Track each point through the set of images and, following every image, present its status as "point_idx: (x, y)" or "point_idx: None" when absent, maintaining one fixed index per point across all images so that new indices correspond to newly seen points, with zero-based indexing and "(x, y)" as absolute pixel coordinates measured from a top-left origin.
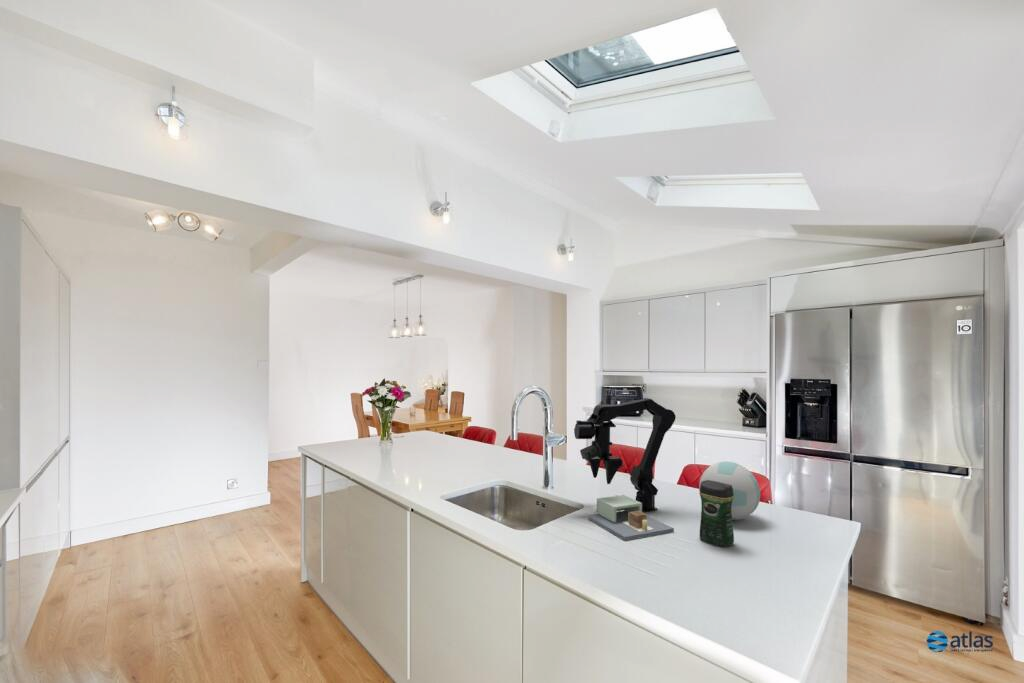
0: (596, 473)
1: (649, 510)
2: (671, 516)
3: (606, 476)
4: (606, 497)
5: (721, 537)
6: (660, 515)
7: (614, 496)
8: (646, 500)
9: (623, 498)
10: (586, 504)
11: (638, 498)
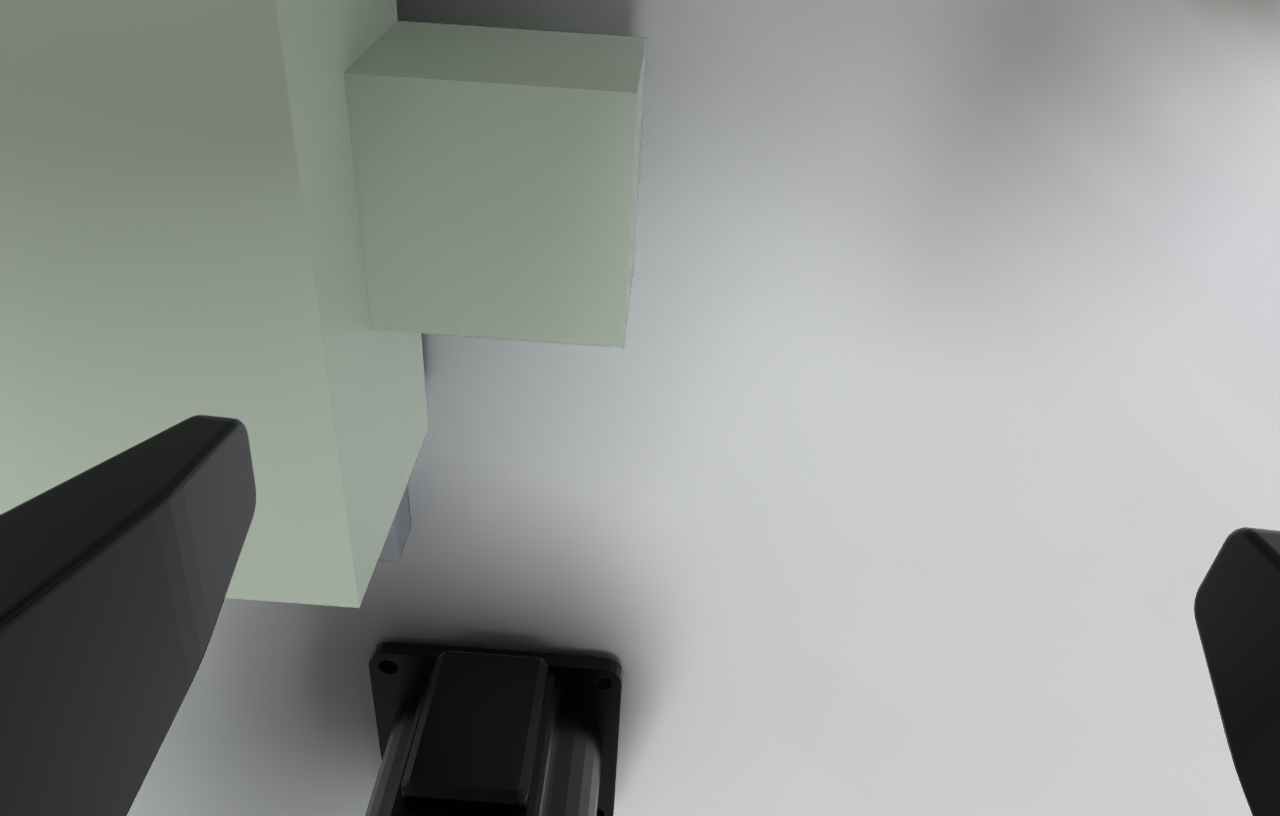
0: (1262, 735)
1: (377, 709)
2: (160, 771)
3: (14, 591)
4: (276, 126)
5: None
6: (219, 708)
7: (310, 375)
8: (371, 811)
9: (112, 453)
10: (1182, 84)
11: (448, 775)
